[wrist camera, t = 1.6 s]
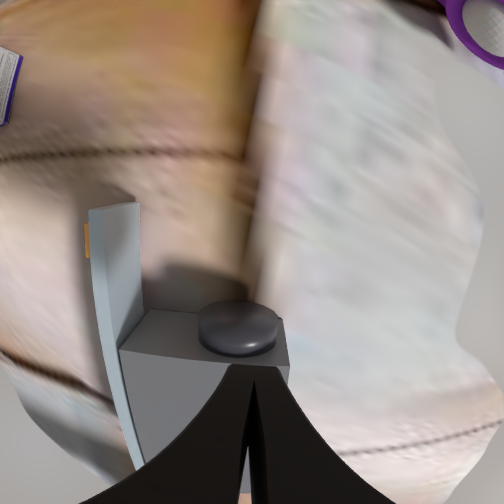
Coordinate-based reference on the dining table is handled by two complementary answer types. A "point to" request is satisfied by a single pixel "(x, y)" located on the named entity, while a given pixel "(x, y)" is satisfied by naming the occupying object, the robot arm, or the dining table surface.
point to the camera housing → (193, 364)
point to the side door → (117, 297)
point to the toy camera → (479, 27)
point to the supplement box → (8, 81)
